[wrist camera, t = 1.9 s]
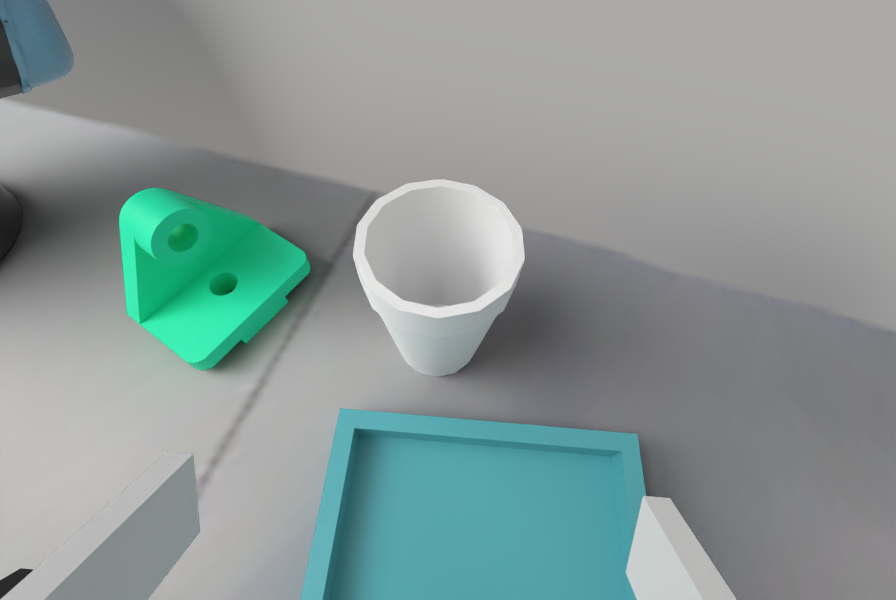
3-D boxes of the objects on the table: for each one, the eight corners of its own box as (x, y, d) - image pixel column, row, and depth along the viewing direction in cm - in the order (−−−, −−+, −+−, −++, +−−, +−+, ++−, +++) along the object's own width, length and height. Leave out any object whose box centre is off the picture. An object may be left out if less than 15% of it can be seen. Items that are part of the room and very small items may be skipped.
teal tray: (270, 819, 21) (247, 858, 19) (347, 419, 31) (339, 408, 29) (669, 859, 21) (703, 904, 18) (620, 443, 31) (637, 433, 28)
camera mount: (211, 380, 33) (127, 319, 24) (147, 329, 35) (47, 254, 26) (318, 273, 38) (283, 190, 29) (257, 233, 40) (206, 144, 31)
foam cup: (363, 379, 33) (326, 293, 22) (397, 280, 37) (382, 167, 26) (484, 408, 32) (511, 334, 21) (504, 303, 37) (535, 197, 25)
